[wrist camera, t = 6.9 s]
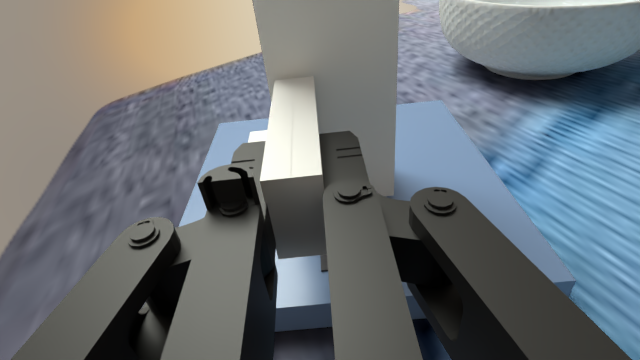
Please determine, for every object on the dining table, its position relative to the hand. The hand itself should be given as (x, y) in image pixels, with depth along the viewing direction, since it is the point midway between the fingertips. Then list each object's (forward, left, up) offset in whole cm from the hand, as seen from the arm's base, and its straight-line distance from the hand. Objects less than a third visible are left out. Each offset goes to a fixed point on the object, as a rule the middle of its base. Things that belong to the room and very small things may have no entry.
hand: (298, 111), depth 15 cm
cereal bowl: (-27, +8, -7) cm, 29 cm away
